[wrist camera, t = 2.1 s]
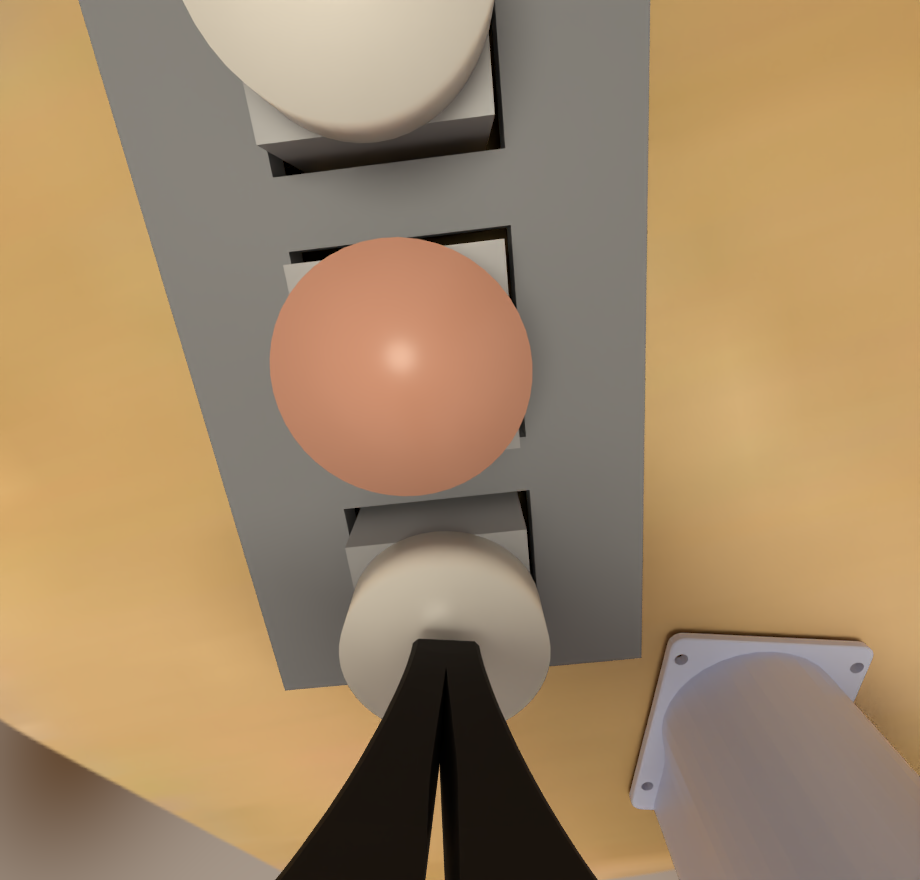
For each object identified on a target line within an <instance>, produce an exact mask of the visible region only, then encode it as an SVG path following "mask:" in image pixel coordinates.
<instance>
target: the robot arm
mask: <svg viewBox="0 0 920 880" xmlns="http://www.w3.org/2000/svg"><path fill="white" fill-rule="evenodd" d="M681 654H683V655H682V656H680V657H677V656H678V655H681ZM872 658H873V651H872V650H871V649H870V648H869V647H868V646H867V645H866V644H865V643H864V642H860V641H845V640H824V639H803V638H782V637H762V636H741V635H720V634H700V633H677V634H675V635H673V636H672V637H671V638H670V639H669V641H668V643H667V647H666V651H665V655H664V659H663V663H662V667H661V671H660V675H659V679H658V683H657V687H656V691H655V695H654V699H653V703H652V707H651V711H650V715H649V719H648V723H647V727H646V730H645V734H644V738H643V742H642V746H641V750H640V754H639V758H638V762H637V766H636V770H635V774H634V778H633V782H632V786H631V790H630V794H629V795H630V800H631V803H632V805H633V806H634V807H636V808H637V809H648V810H654V811H655V813H656V816H657V819H658V822H659V825H660V827H661V830H662V833H663V836H664V839H665V841H666V844H667V847H668V850H669V853H670V855H671V858H672V861H673V864H674V867H675V869H676V872H677V875H678V878H679V880H920V776H919V775H918V774H917V773H916V772H915V771H914V770H913V769H912V768H911V766H910V765H909V764H908V763H907V762H906V761H905V760H904V759H903V757H902V756H901V755H900V754H899V753H898V752H897V751H896V750H895V748H894V747H893V746H892V745H891V744H890V743H889V742H888V741H887V740H886V738H885V737H884V736H883V735H882V734H881V733H880V732H879V731H878V729H877V728H876V727H875V726H874V725H873V724H872V723H871V722H870V720H869V719H868V718H867V717H866V716H865V715H864V714H863V713H862V712H861V710H860V709H859V708H858V707H857V706H856V705H855V704H854V700H855V698H856V696H857V693H858V691H859V689H860V686H861V684H862V682H863V679H864V677H865V675H866V672H867V670H868V668H869V665H870V663H871V661H872ZM439 764H440V784H441V806H442V828H443V849H444V871H445V880H597V878H596V877H595V875H594V874H593V873H592V871H591V870H590V868H589V867H588V865H587V864H586V863H585V861H584V860H583V858H582V857H581V855H580V854H579V852H578V851H577V849H576V848H575V846H574V845H573V843H572V841H571V840H570V838H569V837H568V835H567V834H566V832H565V831H564V829H563V827H562V826H561V824H560V823H559V821H558V819H557V818H556V816H555V814H554V813H553V811H552V809H551V808H550V806H549V804H548V803H547V801H546V799H545V797H544V796H543V794H542V792H541V790H540V789H539V787H538V785H537V783H536V781H535V780H534V778H533V776H532V774H531V772H530V770H529V768H528V766H527V764H526V762H525V760H524V759H523V757H522V755H521V753H520V751H519V749H518V747H517V745H516V742H515V740H514V738H513V736H512V734H511V732H510V730H509V727H508V725H507V723H506V721H505V718H504V716H503V714H502V712H501V709H500V707H499V705H498V702H497V700H496V697H495V695H494V692H493V689H492V687H491V684H490V681H489V678H488V676H487V673H486V670H485V666H484V663H483V659H482V656H481V652H480V647H479V645H478V644H477V643H476V642H475V641H458V640H437V639H417V640H416V641H415V642H413V645H412V649H411V653H410V656H409V659H408V662H407V665H406V668H405V670H404V673H403V675H402V678H401V680H400V682H399V685H398V687H397V689H396V692H395V694H394V696H393V698H392V700H391V702H390V704H389V706H388V708H387V710H386V712H385V714H384V716H383V718H382V720H381V722H380V724H379V726H378V728H377V730H376V731H375V733H374V735H373V737H372V739H371V740H370V742H369V744H368V746H367V747H366V749H365V751H364V753H363V754H362V756H361V758H360V760H359V761H358V763H357V765H356V766H355V768H354V770H353V771H352V773H351V775H350V776H349V778H348V779H347V781H346V783H345V784H344V786H343V787H342V789H341V790H340V792H339V793H338V795H337V796H336V798H335V799H334V801H333V802H332V804H331V805H330V807H329V808H328V810H327V811H326V813H325V814H324V816H323V817H322V818H321V820H320V821H319V823H318V824H317V825H316V827H315V828H314V829H313V831H312V832H311V834H310V835H309V836H308V838H307V839H306V841H305V842H304V843H303V845H302V846H301V848H300V849H299V850H298V851H297V853H296V854H295V855H294V857H293V858H292V859H291V861H290V862H289V863H288V865H287V866H286V867H285V868H284V870H283V871H282V872H281V874H280V875H279V876H278V877H277V879H276V880H425V878H426V870H427V862H428V854H429V846H430V838H431V829H432V821H433V813H434V805H435V797H436V789H437V781H438V773H439Z"/></svg>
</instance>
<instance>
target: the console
mask: <svg viewBox="0 0 920 880" xmlns="http://www.w3.org/2000/svg"><path fill="white" fill-rule="evenodd" d="M79 4H80V7H81V10H82V14H83V17H84V20H85V24H86V27H87V30H88V34H89V37H90V40H91V44H92V47H93V50H94V54H95V57H96V60H97V64H98V67H99V70H100V74H101V77H102V80H103V84H104V87H105V90H106V94H107V97H108V100H109V104H110V107H111V110H112V114H113V117H114V120H115V124H116V127H117V130H118V134H119V137H120V140H121V144H122V147H123V150H124V154H125V157H126V160H127V164H128V167H129V171H130V174H131V177H132V181H133V184H134V187H135V191H136V194H137V197H138V201H139V204H140V207H141V211H142V214H143V217H144V221H145V224H146V227H147V231H148V234H149V237H150V241H151V244H152V247H153V251H154V254H155V257H156V261H157V264H158V267H159V271H160V274H161V277H162V281H163V284H164V287H165V291H166V294H167V297H168V301H169V304H170V307H171V311H172V314H173V317H174V321H175V324H176V327H177V331H178V334H179V338H180V341H181V344H182V348H183V351H184V354H185V358H186V361H187V364H188V368H189V371H190V374H191V378H192V381H193V384H194V388H195V391H196V394H197V398H198V401H199V404H200V408H201V411H202V414H203V418H204V421H205V424H206V428H207V431H208V434H209V438H210V441H211V444H212V448H213V451H214V454H215V458H216V461H217V464H218V468H219V471H220V474H221V478H222V481H223V484H224V488H225V491H226V494H227V498H228V501H229V505H230V508H231V511H232V515H233V518H234V521H235V525H236V528H237V531H238V535H239V538H240V541H241V545H242V548H243V551H244V555H245V558H246V561H247V565H248V568H249V571H250V575H251V578H252V581H253V585H254V588H255V591H256V595H257V598H258V601H259V605H260V608H261V611H262V615H263V618H264V621H265V625H266V628H267V631H268V635H269V638H270V641H271V645H272V648H273V651H274V655H275V658H276V661H277V665H278V668H279V672H280V675H281V678H282V682H283V685H284V688H285V690H295V689H306V688H317V687H328V686H339V685H348V684H347V682H346V680H345V678H344V675H343V672H342V669H341V666H340V659H339V643H340V637H341V632H342V629H343V626H344V623H345V619H346V616H347V613H348V610H349V607H350V603H351V600H352V597H353V594H354V586H353V582H352V577H351V573H350V568H349V564H348V559H347V554H346V550H345V547H346V544H347V542H348V539H349V536H350V534H351V531H352V529H353V526H354V524H355V521H356V514H355V509H354V508H359V507H369V506H378V505H388V504H398V503H407V502H417V501H427V500H436V499H446V498H456V497H466V496H475V495H485V494H495V493H504V492H514V491H524V490H526V495H527V508H528V522H529V535H530V549H531V562H532V563H530V564H529V567H530V574H531V576H532V578H533V580H534V582H535V584H536V587H537V591H538V594H539V598H540V602H541V606H542V610H543V614H544V618H545V622H546V627H547V631H548V635H549V640H550V647H551V652H550V664H549V666H558V665H569V664H580V663H591V662H602V661H613V660H624V659H635V658H641V643H642V568H643V494H644V419H645V344H646V270H647V195H648V120H649V46H650V0H494V7H493V12H492V17H491V24H492V38H493V51H494V65H495V78H496V91H497V105H498V118H499V132H500V145H501V149H496V150H488V151H480V152H472V153H464V154H456V155H448V156H440V157H432V158H424V159H416V160H409V161H401V162H393V163H385V164H377V165H369V166H361V167H353V168H345V169H337V170H329V171H322V172H314V173H306V174H298V175H290V176H286V174H285V169H284V164H283V160H282V159H280V158H278V157H277V156H275V155H273V154H271V153H270V152H268V151H266V150H264V149H263V148H261V147H259V146H257V145H256V140H255V136H254V131H253V126H252V122H251V117H250V113H249V108H248V104H247V99H246V95H245V90H244V85H243V81H242V80H241V79H240V78H238V77H237V76H236V75H235V74H234V73H233V72H232V71H231V70H230V69H229V68H228V67H227V66H226V65H225V64H224V63H223V61H222V60H221V59H220V58H219V57H218V55H217V54H216V53H215V52H214V51H213V50H212V48H211V47H210V46H209V44H208V43H207V41H206V40H205V38H204V37H203V35H202V34H201V32H200V31H199V29H198V28H197V26H196V25H195V23H194V21H193V19H192V18H191V16H190V14H189V12H188V10H187V8H186V6H185V4H184V2H183V0H79ZM500 228H507V239H508V253H509V266H510V280H511V293H512V302H513V304H514V306H515V308H516V309H517V311H518V313H519V315H520V317H521V320H522V322H523V324H524V327H525V329H526V333H527V337H528V340H529V344H530V349H531V356H532V387H531V394H530V399H529V403H528V407H527V410H526V413H525V416H524V418H523V421H522V423H521V425H520V428H519V437H520V448H515V449H506V450H504V452H503V453H502V454H501V455H500V456H499V457H498V458H497V459H496V460H495V461H494V462H493V463H492V464H491V465H490V466H489V467H487V468H486V469H485V470H484V471H482V472H481V473H480V474H478V475H477V476H475V477H473V478H472V479H470V480H468V481H466V482H465V483H462V484H460V485H458V486H455V487H453V488H451V489H448V490H444V491H441V492H437V493H433V494H427V495H420V496H393V495H385V494H380V493H375V492H371V491H368V490H365V489H361V488H358V487H356V486H354V485H351V484H349V483H347V482H345V481H343V480H341V479H339V478H338V477H336V476H334V475H333V474H331V473H329V472H328V471H327V470H325V469H324V468H323V467H322V466H320V465H319V464H318V463H316V462H315V461H314V460H313V459H312V458H311V457H310V456H309V455H308V454H307V453H306V452H305V451H304V450H303V448H302V447H301V446H300V445H299V443H298V442H297V441H296V440H295V438H294V437H293V435H292V434H291V432H290V431H289V429H288V427H287V426H286V424H285V422H284V420H283V418H282V416H281V413H280V411H279V409H278V406H277V403H276V400H275V396H274V393H273V388H272V383H271V377H270V348H271V340H272V336H273V331H274V327H275V324H276V321H277V318H278V316H279V313H280V311H281V308H282V306H283V305H284V303H285V301H286V299H287V297H288V296H289V290H288V286H287V281H286V277H285V272H284V267H283V265H288V264H297V263H304V261H303V256H302V252H310V251H318V250H326V249H335V248H343V247H348V246H350V245H353V244H356V243H359V242H362V241H367V240H372V239H377V238H390V237H404V238H414V239H417V238H426V237H434V236H442V235H450V234H459V233H467V232H475V231H483V230H492V229H500Z"/></svg>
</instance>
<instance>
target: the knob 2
mask: <svg viewBox="0 0 920 880" xmlns="http://www.w3.org/2000/svg"><path fill="white" fill-rule="evenodd" d="M345 550H346V554H347V559H348V564H349V568H350V573H351V577H352V582H353V586H354V594H353V597H352V600H351V603H350V607H349V610H348V613H347V616H346V619H345V623H344V626H343V629H342V632H341V637H340V643H339V659H340V666H341V669H342V672H343V675H344V678H345V680H346V682H347V684H348V686H349V688H350V689H351V691H352V692H353V694H354V695H355V696H356V698H357V699H358V700H359V701H360V702H361V703H362V704H363V705H364V706H365V707H366V708H367V709H369V710H370V711H371V712H372V713H374V714H375V715H377V716H378V717H380V718H381V719H382V718H383V716H384V714H385V712H386V710H387V708H388V706H389V704H390V702H391V700H392V698H393V696H394V694H395V692H396V689H397V687H398V685H399V682H400V680H401V678H402V675H403V673H404V670H405V668H406V665H407V662H408V659H409V656H410V653H411V649H412V645H413V642H415V641H416V640H417V639H437V640H458V641H475V642H476V643H477V644H478V645H479V647H480V652H481V656H482V659H483V663H484V666H485V670H486V673H487V676H488V678H489V681H490V684H491V687H492V689H493V692H494V695H495V697H496V700H497V702H498V705H499V707H500V709H501V712H502V714H503V716H504V718H505V721H506V720H508V719H509V718H511V717H512V716H514V715H516V714H517V713H518V712H519V711H521V710H522V709H523V708H524V707H525V706H526V705H527V704H528V703H529V702H530V701H531V700H532V699H533V698H534V696H535V695H536V694H537V692H538V691H539V690H540V688H541V686H542V684H543V682H544V680H545V678H546V675H547V672H548V669H549V664H550V652H551V647H550V640H549V635H548V631H547V627H546V622H545V618H544V614H543V610H542V606H541V602H540V598H539V594H538V591H537V587H536V584H535V582H534V580H533V578H532V576H531V574H530V567H529V554H528V541H527V529H526V525H525V521H524V517H523V513H522V510H521V506H520V502H519V498H518V494H517V491H514V492H504V493H495V494H485V495H475V496H466V497H456V498H446V499H436V500H427V501H417V502H407V503H398V504H388V505H378V506H369V507H361V508H360V511H359V513H358V516H357V519H356V521H355V524H354V526H353V529H352V531H351V534H350V536H349V539H348V542H347V544H346V547H345Z"/></svg>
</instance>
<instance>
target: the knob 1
mask: <svg viewBox="0 0 920 880" xmlns="http://www.w3.org/2000/svg"><path fill="white" fill-rule="evenodd" d="M183 2H184V4H185V6H186V8H187V10H188V12H189V14H190V16H191V18H192V19H193V21H194V23H195V25H196V26H197V28H198V29H199V31H200V32H201V34H202V35H203V37H204V38H205V40H206V41H207V43H208V44H209V46H210V47H211V48H212V50H213V51H214V52H215V53H216V54H217V55H218V57H219V58H220V59H221V60H222V61H223V63H224V64H225V65H226V66H227V67H228V68H229V69H230V70H231V71H232V72H233V73H234V74H235V75H236V76H237V77H238V78H240V79H241V80H242V81H243V85H244V90H245V95H246V99H247V104H248V108H249V113H250V117H251V122H252V126H253V131H254V136H255V140H256V145H257V146H259V147H261V148H263V149H264V150H266V151H268V152H270V153H271V154H273V155H275V156H277V157H278V158H280V159H282V160H284V161H285V162H287V163H289V164H291V165H293V166H294V167H296V168H298V169H300V170H301V171H303V172H305V173H314V172H322V171H329V170H337V169H345V168H353V167H361V166H369V165H377V164H385V163H393V162H401V161H409V160H416V159H424V158H432V157H440V156H448V155H456V154H464V153H472V152H480V151H486V147H487V143H488V139H489V135H490V131H491V127H492V123H493V119H494V115H495V111H494V98H493V85H492V72H491V59H490V45H489V32H488V31H489V27H490V22H491V17H492V12H493V7H494V0H183Z"/></svg>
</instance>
